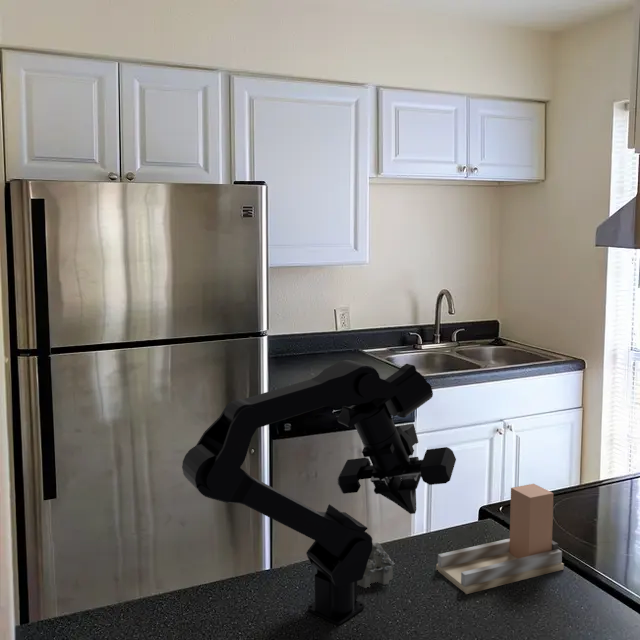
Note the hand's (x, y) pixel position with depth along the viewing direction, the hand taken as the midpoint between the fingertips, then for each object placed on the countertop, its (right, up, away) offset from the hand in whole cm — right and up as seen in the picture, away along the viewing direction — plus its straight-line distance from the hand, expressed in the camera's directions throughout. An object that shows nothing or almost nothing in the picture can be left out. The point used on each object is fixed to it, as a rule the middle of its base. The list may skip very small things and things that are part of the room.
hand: (413, 511), depth 108 cm
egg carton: (-7, -13, +6) cm, 16 cm away
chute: (+16, -12, +7) cm, 21 cm away
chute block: (+22, -10, +9) cm, 26 cm away
